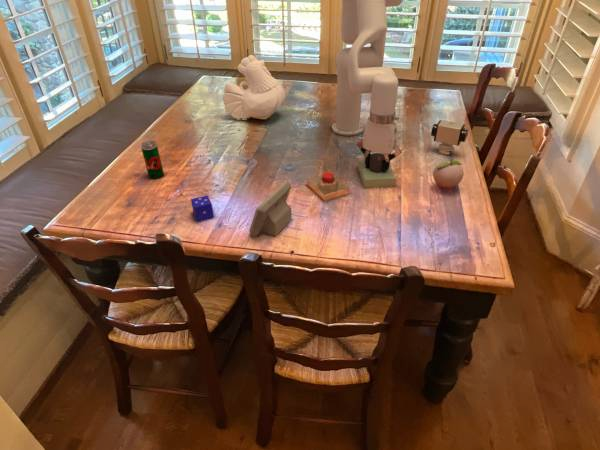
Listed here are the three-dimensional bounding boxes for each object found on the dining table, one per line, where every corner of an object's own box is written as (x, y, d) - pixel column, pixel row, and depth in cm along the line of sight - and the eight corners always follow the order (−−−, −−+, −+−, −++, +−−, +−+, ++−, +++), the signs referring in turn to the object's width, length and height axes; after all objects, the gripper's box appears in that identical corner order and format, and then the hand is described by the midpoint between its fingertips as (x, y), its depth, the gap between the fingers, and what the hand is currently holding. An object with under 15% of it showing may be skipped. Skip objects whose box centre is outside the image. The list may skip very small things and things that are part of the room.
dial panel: (357, 167, 151) (358, 159, 149) (386, 166, 151) (387, 158, 149) (364, 187, 140) (365, 179, 138) (395, 186, 141) (396, 177, 139)
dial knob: (367, 165, 146) (368, 152, 143) (382, 164, 146) (384, 151, 143) (370, 173, 142) (371, 159, 139) (385, 172, 142) (387, 159, 139)
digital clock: (279, 206, 132) (278, 176, 126) (302, 217, 128) (302, 186, 121) (241, 231, 123) (237, 200, 116) (264, 244, 118) (261, 212, 111)
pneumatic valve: (460, 158, 155) (467, 127, 148) (427, 151, 159) (433, 121, 152) (463, 152, 159) (470, 121, 151) (431, 145, 163) (437, 115, 156)
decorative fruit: (443, 198, 135) (449, 169, 129) (426, 185, 141) (431, 158, 135) (466, 190, 138) (473, 162, 132) (448, 178, 144) (454, 151, 138)
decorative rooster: (295, 98, 187) (261, 47, 181) (286, 105, 173) (248, 50, 167) (252, 129, 197) (219, 82, 192) (240, 138, 184) (203, 87, 178)
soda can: (166, 173, 150) (159, 141, 143) (158, 180, 146) (150, 148, 139) (154, 171, 151) (146, 139, 144) (145, 178, 148) (137, 146, 140)
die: (197, 221, 127) (194, 207, 124) (193, 212, 131) (190, 198, 128) (214, 217, 128) (211, 203, 125) (209, 208, 132) (207, 195, 129)
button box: (307, 185, 142) (307, 174, 140) (330, 178, 145) (331, 167, 143) (324, 201, 134) (324, 190, 132) (348, 193, 138) (349, 182, 135)
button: (320, 178, 138) (320, 173, 137) (329, 175, 140) (330, 171, 139) (326, 183, 136) (326, 178, 135) (335, 180, 137) (336, 176, 136)
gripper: (412, 117, 132) (405, 169, 143) (360, 107, 139) (356, 158, 150) (405, 126, 127) (398, 179, 138) (351, 116, 134) (348, 168, 145)
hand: (376, 168), depth 144 cm, fingers closed on dial knob, 5 cm apart
